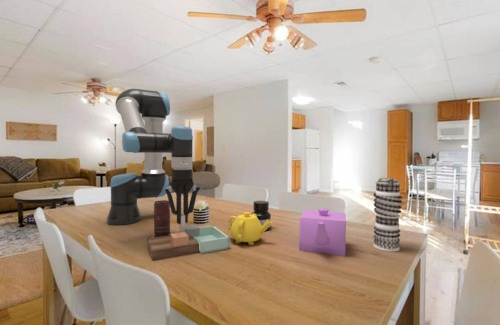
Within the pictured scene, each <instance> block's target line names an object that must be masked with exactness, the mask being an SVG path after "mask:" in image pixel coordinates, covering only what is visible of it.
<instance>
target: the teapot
mask: <svg viewBox="0 0 500 325" xmlns="http://www.w3.org/2000/svg"><path fill="white" fill-rule="evenodd" d="M252 213H253V212H252ZM252 213H251V212H249V211H244V212H243V214H239V215H237V216H236V215H232V216H230V217H229V218H228V225H229V226H228V227H227V230H226V231H228V233H229V234H230V236H231V238H232V239H233V240H235V241H234V244H241V243H247V244H248V245H249V246H254V245H255V244H254V243H255V242H256V241H260V238H262V236H263V235H264V233H265V231H267V230H266V229H267V228H268V227H269V226H270V225H271V226H272V224H273V222H272V220H271V221H270V220H267V221H266V223H265V224H264V225H263V226H262V225H261V223H260V221H259V220H258V218H257V214H254V213H253V214H252ZM251 214H252V215H251ZM232 219H234V220H233V222H232Z"/></svg>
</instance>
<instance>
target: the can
mask: <svg viewBox="0 0 500 325" xmlns="http://www.w3.org/2000/svg"><path fill="white" fill-rule="evenodd" d="M153 219H154V220H153V229H154V230H153V232H154V233H153V234H154V237H160V236H167V235H170V234H171V208H170V204H169V200H166V199H165V200H157V201H154V203H153Z"/></svg>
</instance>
